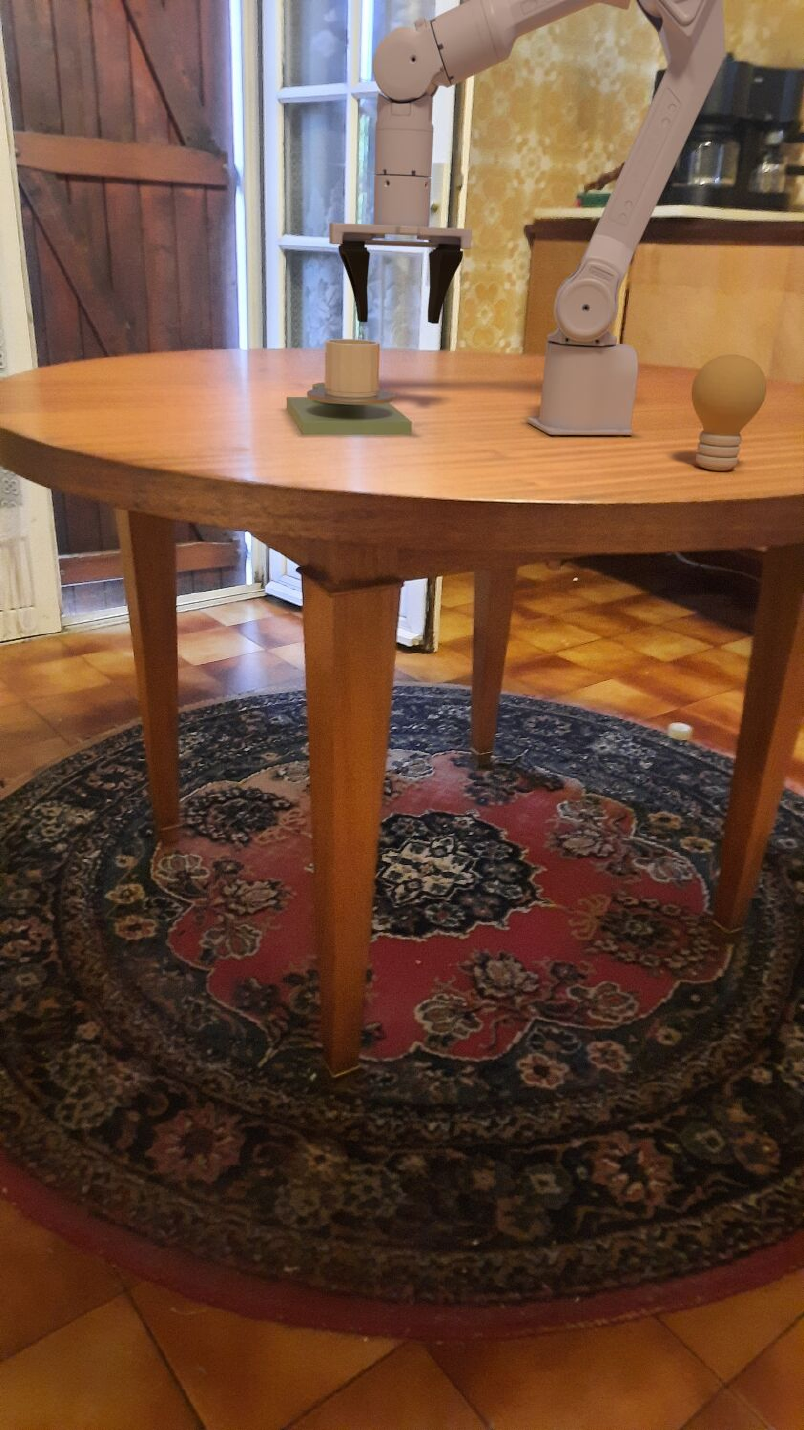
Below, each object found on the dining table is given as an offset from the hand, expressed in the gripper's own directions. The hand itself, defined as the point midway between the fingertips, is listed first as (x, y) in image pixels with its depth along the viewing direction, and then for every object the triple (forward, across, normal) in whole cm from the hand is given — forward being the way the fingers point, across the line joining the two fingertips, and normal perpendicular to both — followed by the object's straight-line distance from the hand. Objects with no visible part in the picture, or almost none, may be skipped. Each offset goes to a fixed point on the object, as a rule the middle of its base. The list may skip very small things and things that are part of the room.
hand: (398, 322), depth 108 cm
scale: (+10, -6, -3) cm, 12 cm away
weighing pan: (+7, -6, -6) cm, 11 cm away
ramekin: (+6, -6, -6) cm, 10 cm away
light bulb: (+10, +25, -26) cm, 37 cm away
